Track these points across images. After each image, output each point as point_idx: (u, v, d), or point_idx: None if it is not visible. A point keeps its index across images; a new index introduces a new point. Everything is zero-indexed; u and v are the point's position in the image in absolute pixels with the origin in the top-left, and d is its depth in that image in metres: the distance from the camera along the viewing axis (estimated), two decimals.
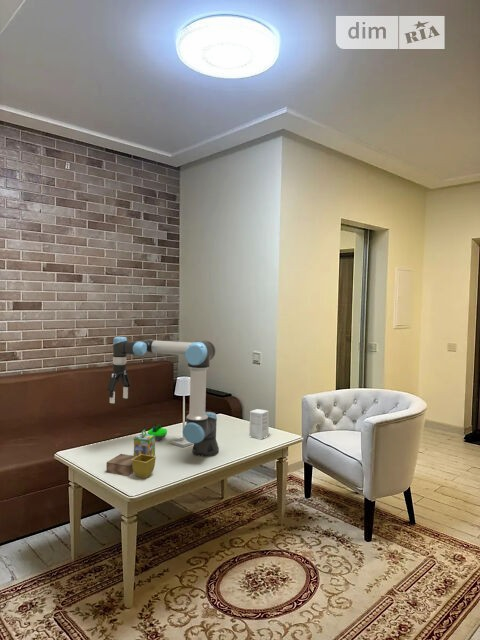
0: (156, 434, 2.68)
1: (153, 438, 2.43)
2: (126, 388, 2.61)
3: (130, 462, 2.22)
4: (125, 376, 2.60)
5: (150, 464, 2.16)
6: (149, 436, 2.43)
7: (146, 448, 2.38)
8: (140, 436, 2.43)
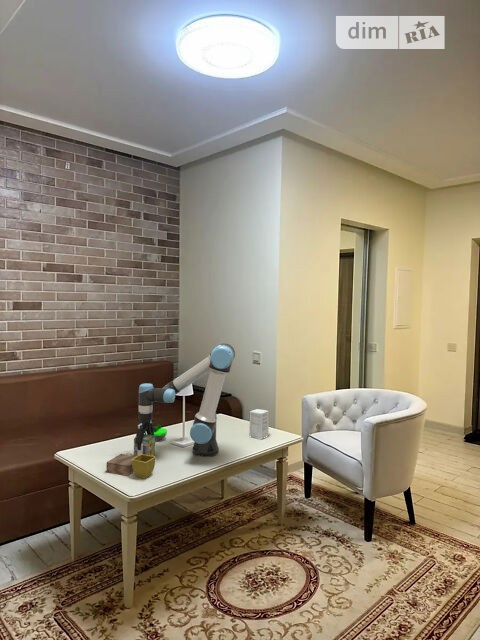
0: (156, 434, 2.68)
1: (153, 438, 2.43)
2: None
3: (130, 462, 2.22)
4: (150, 425, 2.48)
5: (150, 464, 2.16)
6: (149, 436, 2.43)
7: (146, 447, 2.38)
8: None
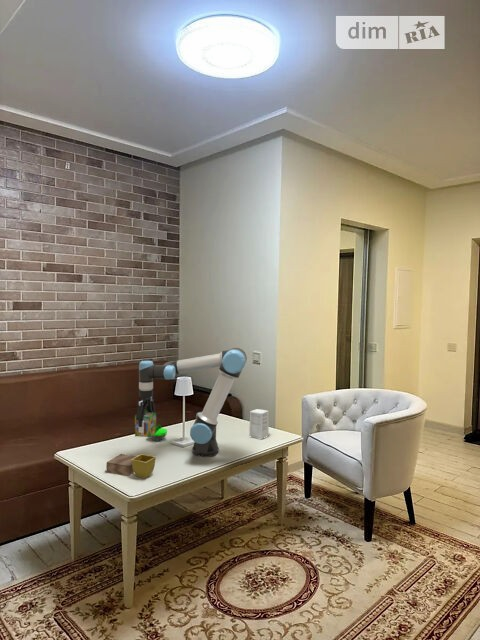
0: (156, 434, 2.68)
1: (153, 415, 2.43)
2: None
3: (130, 462, 2.22)
4: (151, 403, 2.48)
5: (150, 464, 2.16)
6: (150, 413, 2.43)
7: (147, 424, 2.38)
8: None
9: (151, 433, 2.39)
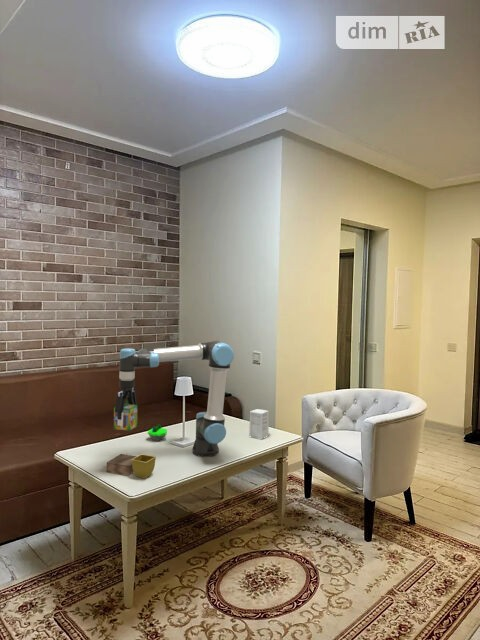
0: (156, 434, 2.68)
1: (134, 407, 2.25)
2: None
3: (130, 462, 2.22)
4: (132, 394, 2.30)
5: (150, 464, 2.16)
6: (131, 405, 2.25)
7: (126, 417, 2.20)
8: None
9: (131, 426, 2.21)
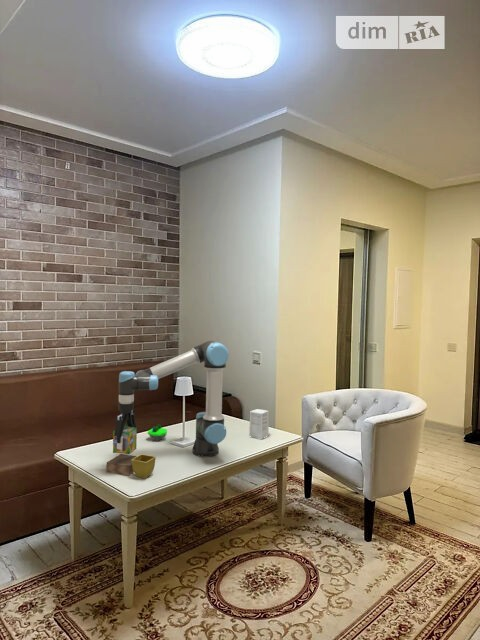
0: (156, 434, 2.68)
1: (134, 430, 2.25)
2: None
3: (130, 462, 2.22)
4: (131, 416, 2.30)
5: (150, 464, 2.16)
6: (130, 428, 2.25)
7: (126, 440, 2.20)
8: None
9: (130, 450, 2.21)
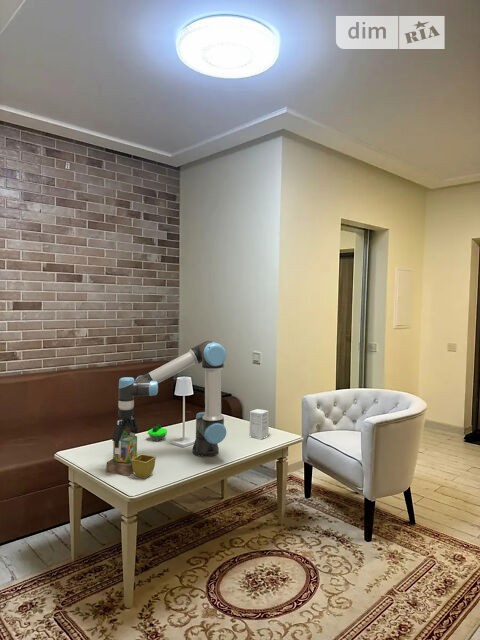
0: (156, 434, 2.68)
1: (134, 439, 2.25)
2: (133, 434, 2.31)
3: (130, 462, 2.22)
4: (132, 421, 2.30)
5: (150, 464, 2.16)
6: (130, 437, 2.25)
7: (126, 449, 2.20)
8: None
9: (130, 458, 2.22)
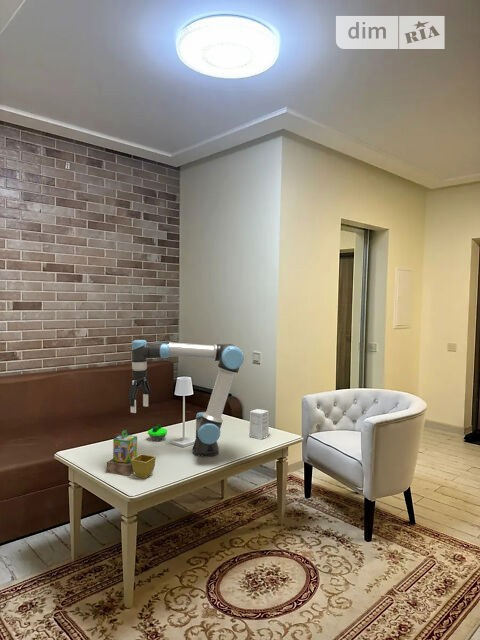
0: (156, 434, 2.68)
1: (134, 439, 2.25)
2: (146, 395, 2.40)
3: (130, 462, 2.22)
4: (145, 382, 2.39)
5: (150, 464, 2.16)
6: (130, 437, 2.25)
7: (126, 449, 2.20)
8: (120, 437, 2.25)
9: (130, 458, 2.22)
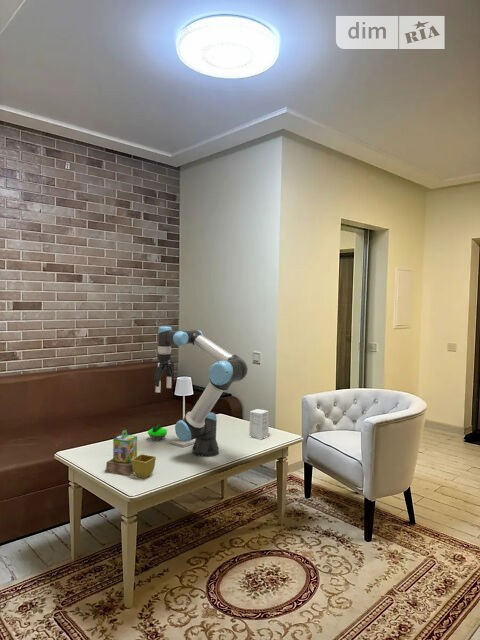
0: (156, 434, 2.68)
1: (134, 439, 2.25)
2: (170, 378, 2.61)
3: (130, 462, 2.22)
4: (169, 366, 2.61)
5: (150, 464, 2.16)
6: (130, 437, 2.25)
7: (126, 449, 2.20)
8: (120, 437, 2.25)
9: (130, 458, 2.22)
